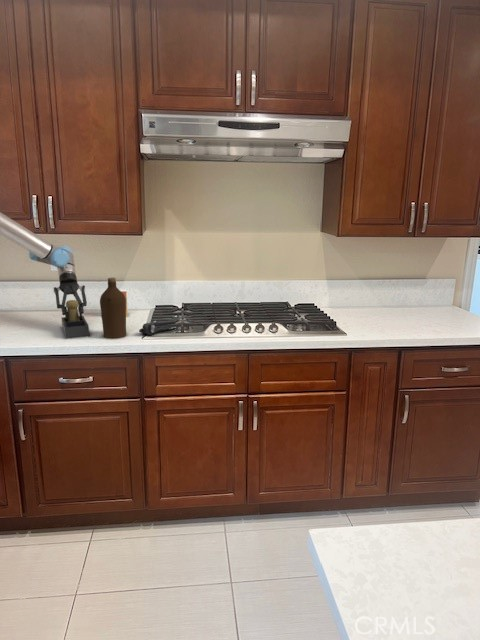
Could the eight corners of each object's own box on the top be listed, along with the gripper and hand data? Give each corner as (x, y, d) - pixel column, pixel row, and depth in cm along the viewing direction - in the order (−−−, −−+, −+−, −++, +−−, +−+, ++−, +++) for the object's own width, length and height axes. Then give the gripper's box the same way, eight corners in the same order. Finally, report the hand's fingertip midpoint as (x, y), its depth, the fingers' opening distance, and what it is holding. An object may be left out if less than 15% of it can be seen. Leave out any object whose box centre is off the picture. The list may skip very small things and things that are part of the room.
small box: (110, 317, 228) (109, 291, 224) (111, 314, 234) (109, 288, 230) (127, 316, 230) (126, 291, 226) (127, 313, 236) (126, 288, 232)
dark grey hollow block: (65, 338, 194) (64, 327, 193) (62, 327, 210) (61, 317, 209) (89, 336, 198) (88, 325, 197) (84, 325, 214) (83, 315, 212)
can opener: (145, 337, 197) (145, 325, 195) (137, 334, 202) (137, 321, 200) (180, 330, 208) (180, 318, 207) (172, 326, 213) (171, 315, 212)
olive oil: (130, 337, 197) (127, 279, 191) (105, 340, 193) (101, 281, 186) (124, 331, 206) (121, 275, 200) (99, 333, 202) (96, 277, 195)
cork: (83, 324, 208) (82, 300, 206) (72, 327, 203) (71, 302, 201) (73, 322, 211) (72, 298, 209) (62, 324, 206) (61, 300, 203)
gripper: (46, 272, 206) (51, 317, 196) (88, 270, 214) (96, 313, 204) (46, 282, 212) (52, 326, 202) (87, 280, 220) (95, 322, 210)
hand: (74, 319), depth 203 cm, fingers closed on cork, 5 cm apart
